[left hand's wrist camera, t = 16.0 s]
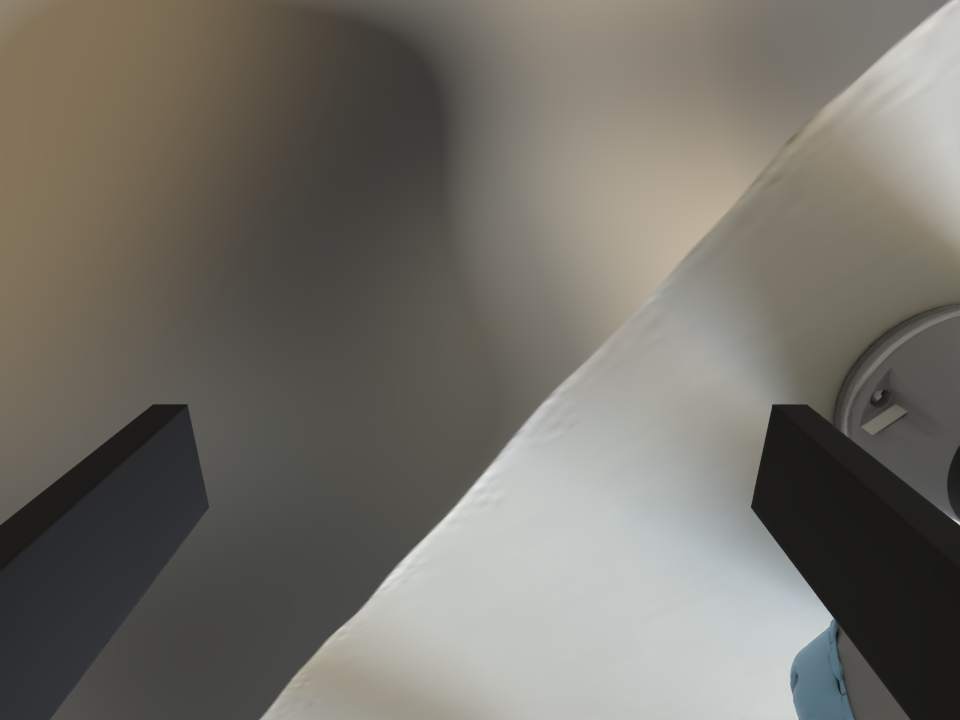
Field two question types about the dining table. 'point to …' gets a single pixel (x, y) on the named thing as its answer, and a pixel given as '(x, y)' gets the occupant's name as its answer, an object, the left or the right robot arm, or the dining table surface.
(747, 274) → the dining table surface
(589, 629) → the dining table surface
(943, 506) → the left robot arm
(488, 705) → the dining table surface
